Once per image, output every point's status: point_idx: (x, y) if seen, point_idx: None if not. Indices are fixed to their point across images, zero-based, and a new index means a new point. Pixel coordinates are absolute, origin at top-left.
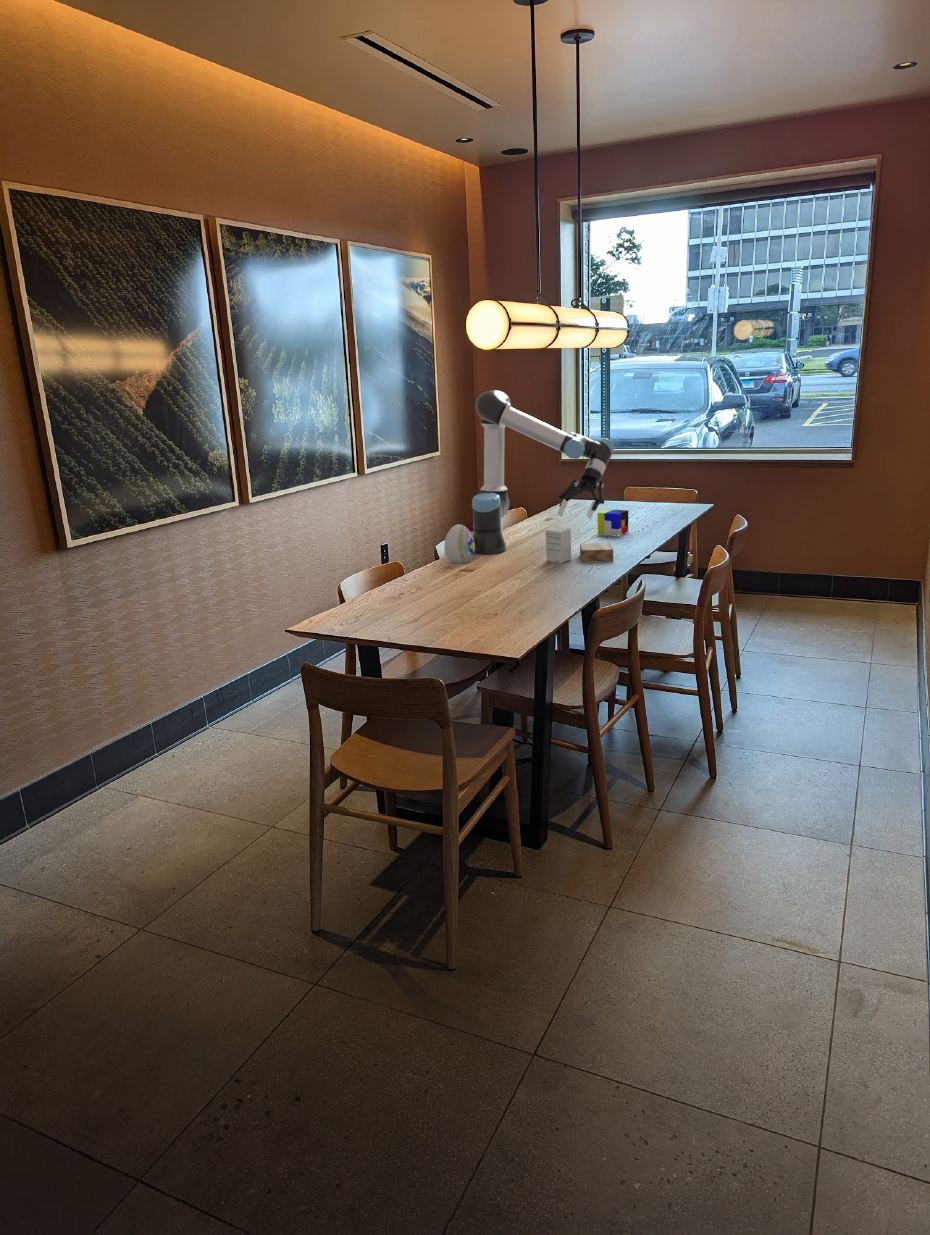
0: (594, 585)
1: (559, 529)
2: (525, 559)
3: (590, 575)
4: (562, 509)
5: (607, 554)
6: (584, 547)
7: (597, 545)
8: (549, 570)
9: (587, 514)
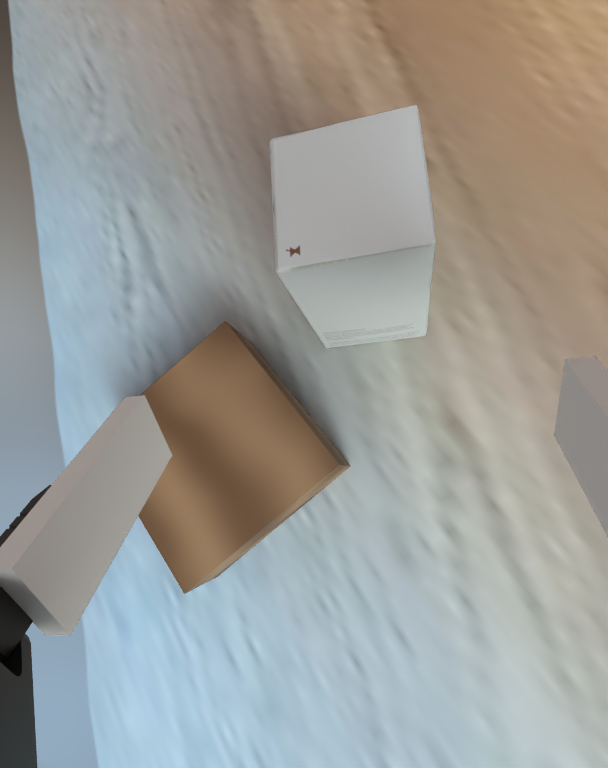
0: (37, 103)
1: (326, 182)
2: (551, 206)
3: (104, 185)
4: (593, 450)
5: None
6: (253, 389)
7: (215, 481)
8: None
9: (131, 397)
